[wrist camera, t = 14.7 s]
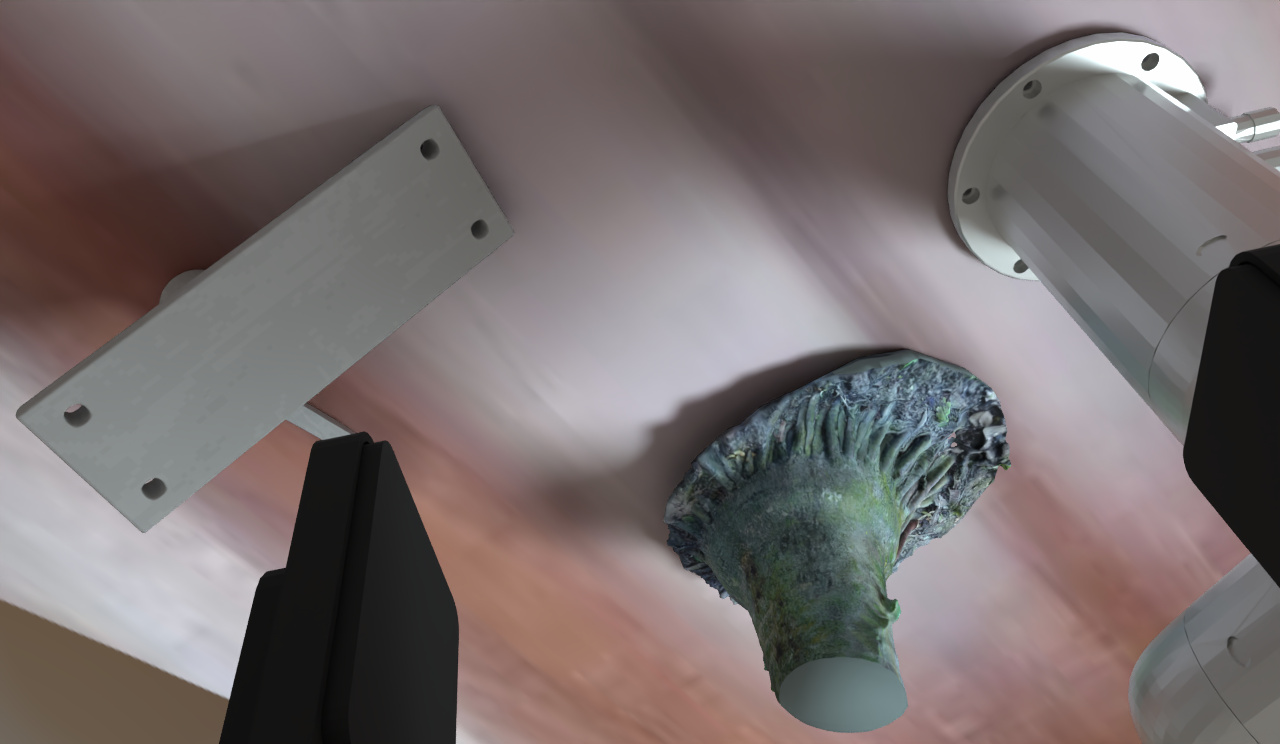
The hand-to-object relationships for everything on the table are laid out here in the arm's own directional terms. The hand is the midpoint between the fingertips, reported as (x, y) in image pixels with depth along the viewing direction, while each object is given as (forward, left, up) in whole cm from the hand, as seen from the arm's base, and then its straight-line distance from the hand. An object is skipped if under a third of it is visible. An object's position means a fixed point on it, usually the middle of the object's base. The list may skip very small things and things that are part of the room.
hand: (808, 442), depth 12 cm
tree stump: (-9, +36, -35) cm, 51 cm away
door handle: (+13, +19, -35) cm, 42 cm away
